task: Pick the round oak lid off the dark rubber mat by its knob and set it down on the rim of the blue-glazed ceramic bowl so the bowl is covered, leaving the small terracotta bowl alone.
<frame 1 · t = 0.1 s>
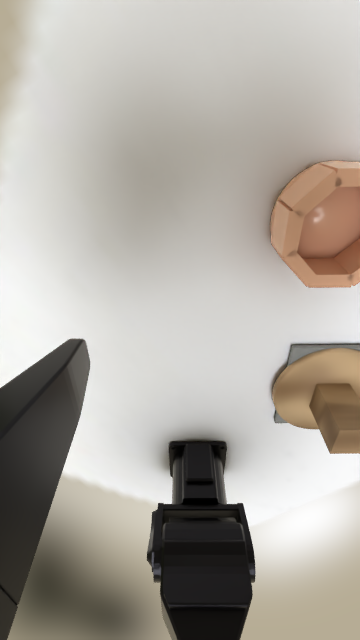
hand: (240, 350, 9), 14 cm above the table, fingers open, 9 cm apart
mat: (323, 385, 30), on the table
small bowl: (322, 217, 21), on the table
lid: (325, 388, 29), resting on mat
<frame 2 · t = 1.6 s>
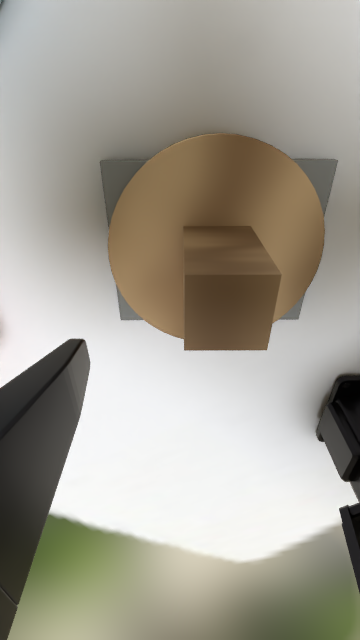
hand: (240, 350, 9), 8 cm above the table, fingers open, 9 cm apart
mat: (212, 249, 15), on the table
lid: (213, 251, 15), resting on mat
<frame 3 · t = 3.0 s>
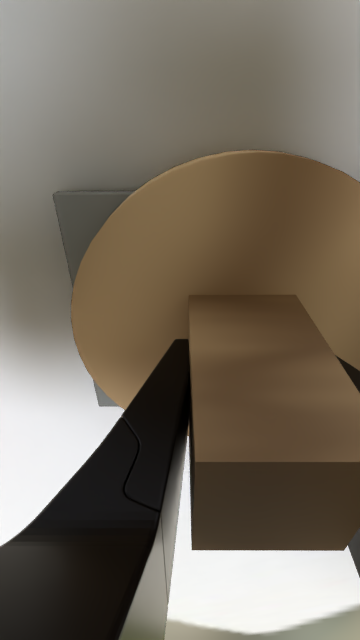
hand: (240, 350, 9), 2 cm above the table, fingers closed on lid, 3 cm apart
mat: (231, 316, 10), on the table
lid: (233, 323, 10), resting on mat, touching gripper
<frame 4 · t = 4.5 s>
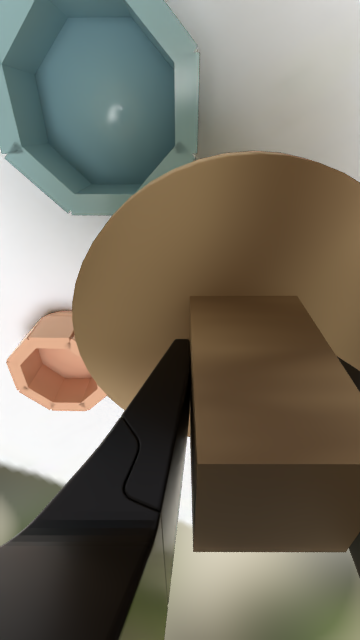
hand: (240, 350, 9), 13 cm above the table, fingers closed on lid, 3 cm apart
bowl: (112, 111, 17), on the table
small bowl: (74, 347, 25), on the table
lid: (234, 324, 10), point 11 cm above the table, touching gripper
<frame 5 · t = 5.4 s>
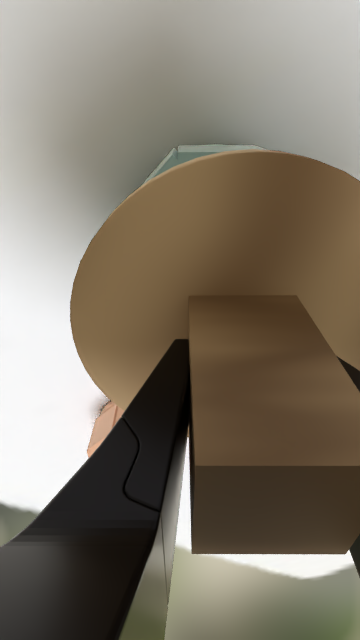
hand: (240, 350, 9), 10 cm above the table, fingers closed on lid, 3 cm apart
bowl: (210, 236, 17), on the table
small bowl: (141, 423, 26), on the table
lid: (233, 324, 10), point 9 cm above the table, touching gripper
when the fingers open (7 cm above the table, at t = 6.1 s): lid drops 2 cm, resting on bowl.
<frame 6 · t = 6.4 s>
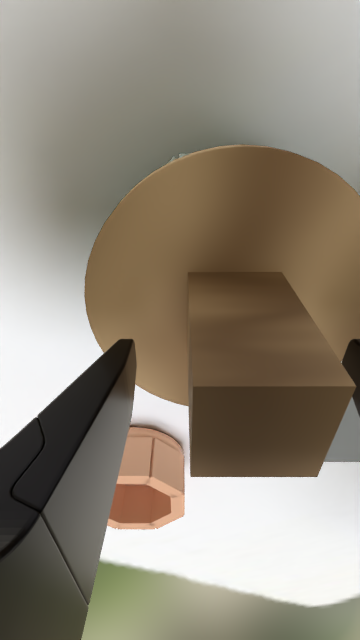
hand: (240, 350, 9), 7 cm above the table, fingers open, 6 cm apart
small bowl: (138, 456, 23), on the table
lid: (227, 300, 11), point 4 cm above the table, touching bowl
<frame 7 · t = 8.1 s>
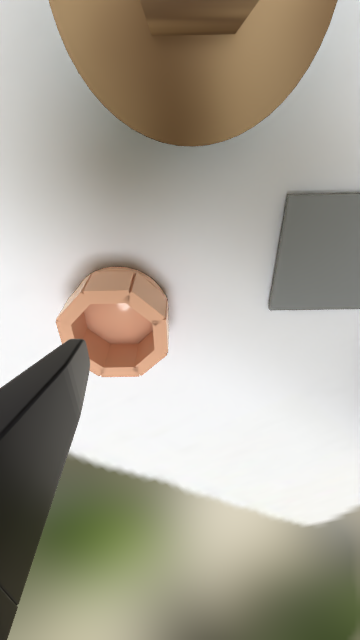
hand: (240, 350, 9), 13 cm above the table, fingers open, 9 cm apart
mat: (350, 255, 21), on the table
small bowl: (121, 309, 23), on the table
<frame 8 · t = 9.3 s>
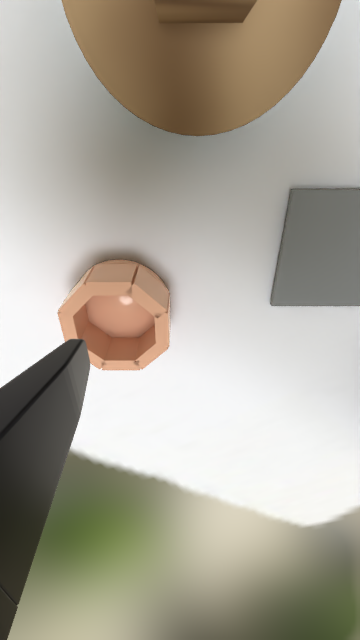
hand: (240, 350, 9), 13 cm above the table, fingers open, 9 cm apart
mat: (353, 252, 21), on the table
small bowl: (123, 303, 23), on the table
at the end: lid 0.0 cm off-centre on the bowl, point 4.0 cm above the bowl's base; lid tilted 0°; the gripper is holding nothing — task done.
